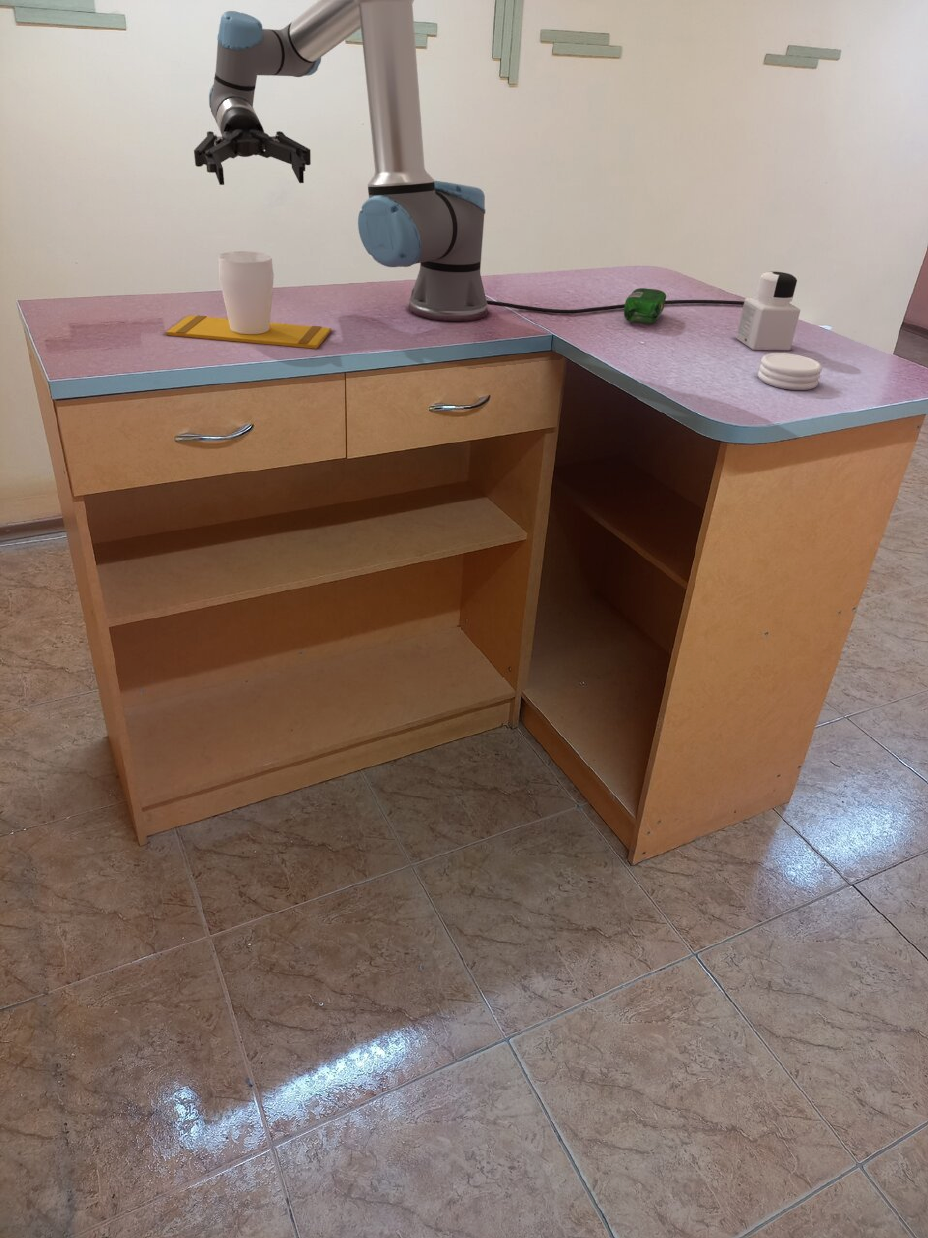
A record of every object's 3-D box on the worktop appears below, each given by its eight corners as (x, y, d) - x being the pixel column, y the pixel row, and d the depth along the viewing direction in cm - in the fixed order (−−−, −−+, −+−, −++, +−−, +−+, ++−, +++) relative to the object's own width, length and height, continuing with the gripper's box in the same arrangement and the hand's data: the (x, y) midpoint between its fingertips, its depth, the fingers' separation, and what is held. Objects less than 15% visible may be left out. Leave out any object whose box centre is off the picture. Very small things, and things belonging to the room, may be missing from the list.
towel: (330, 331, 161) (330, 327, 160) (316, 348, 151) (316, 344, 151) (188, 318, 162) (188, 314, 161) (166, 335, 153) (165, 330, 152)
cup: (270, 338, 153) (266, 264, 146) (217, 334, 152) (211, 260, 146) (280, 324, 160) (277, 253, 154) (230, 320, 160) (224, 249, 153)
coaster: (814, 395, 147) (820, 374, 145) (753, 383, 150) (758, 363, 148) (819, 378, 155) (825, 358, 153) (761, 368, 158) (766, 348, 156)
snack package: (618, 326, 176) (622, 298, 173) (631, 307, 188) (636, 282, 185) (653, 332, 174) (659, 304, 171) (665, 313, 187) (670, 287, 184)
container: (772, 339, 175) (789, 269, 168) (790, 350, 169) (809, 278, 162) (735, 338, 174) (751, 268, 166) (752, 350, 167) (769, 277, 160)
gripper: (307, 148, 173) (333, 196, 160) (173, 150, 165) (189, 199, 152) (306, 106, 167) (333, 151, 154) (168, 105, 160) (184, 153, 147)
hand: (262, 175), depth 153 cm, fingers open, 13 cm apart
